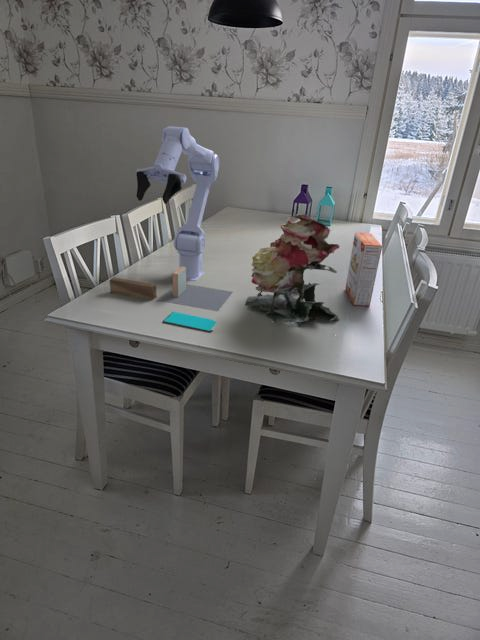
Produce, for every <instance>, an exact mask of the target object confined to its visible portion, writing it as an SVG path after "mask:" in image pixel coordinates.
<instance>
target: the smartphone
mask: <svg viewBox="0 0 480 640" xmlns="http://www.w3.org/2000/svg"><path fill="white" fill-rule="evenodd" d="M162 323H163V324H167V325H172V326H176V327H181V328H186V329H191V330H196V331H199V332H200V331H201V332H204V333H205V332H206V333H210V334H211V333H213V332H214V330H212V329H213V328H214V327H215V326H216V324H217V323H218V322H217V321H216V320H214V319H212V318H208V317H207V318H206V317H202V316H198V315H191V314H186V313H181V312H178V311H172V312H170V314H169V315H168V316H166V317H165V318H164V319H162Z"/></svg>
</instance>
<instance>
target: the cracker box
mask: <svg viewBox="0 0 480 640" xmlns="http://www.w3.org/2000/svg"><path fill="white" fill-rule="evenodd" d="M382 249H383V246H382V244H381V243H380V242H379V241H378V239H376V238H375V236H374V235H373V234H372V233H369V232H368V233H365V232H355V233H354V237H353V241H352V250H351V255H350V259H349V265H348V270H347V277H346V283H345V287H344V288H345V291H346V292H347V295H348V297H349V299H350V301H351V303H352V305H353V306H364V307H370V306H371V302H372V296H373V292H374V288H375V287H374V286H375V282H376V279H377V278H376V277H377V272H378V268H379V264H380V258H381V256H382V255H381V254H382Z"/></svg>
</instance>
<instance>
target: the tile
mask: <svg viewBox="0 0 480 640" xmlns="http://www.w3.org/2000/svg"><path fill="white" fill-rule="evenodd" d="M186 284H187V280H186V267H183V266H181V267H180V268H179V267H178V269H176V270H175V271H174V272H173V273H172V288H173V297H179V296H180V295H181V294H182V293H183V292H184V291H185V290H186Z"/></svg>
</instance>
